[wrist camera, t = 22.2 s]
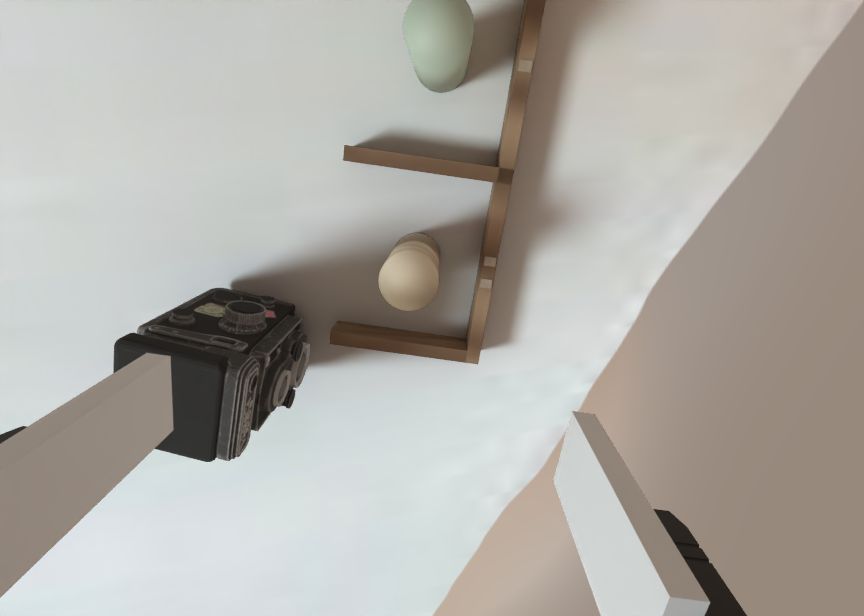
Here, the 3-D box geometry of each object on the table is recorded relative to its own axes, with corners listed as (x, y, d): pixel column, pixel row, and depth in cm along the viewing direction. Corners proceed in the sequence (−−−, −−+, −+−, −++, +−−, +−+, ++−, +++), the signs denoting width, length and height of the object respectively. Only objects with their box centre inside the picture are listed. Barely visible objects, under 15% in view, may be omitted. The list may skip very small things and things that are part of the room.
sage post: (417, 30, 36) (406, -18, 27) (471, 36, 36) (479, -9, 27) (412, 89, 38) (399, 63, 28) (464, 95, 38) (469, 71, 28)
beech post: (396, 229, 41) (381, 248, 32) (443, 236, 41) (442, 256, 32) (390, 275, 43) (375, 306, 33) (436, 282, 43) (434, 314, 33)
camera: (310, 389, 47) (251, 487, 32) (209, 366, 46) (104, 455, 32) (327, 295, 43) (270, 358, 29) (219, 270, 43) (107, 321, 29)
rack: (369, -78, 34) (362, -101, 31) (548, -50, 35) (558, -71, 32) (336, 332, 45) (329, 344, 42) (475, 351, 45) (478, 364, 42)
